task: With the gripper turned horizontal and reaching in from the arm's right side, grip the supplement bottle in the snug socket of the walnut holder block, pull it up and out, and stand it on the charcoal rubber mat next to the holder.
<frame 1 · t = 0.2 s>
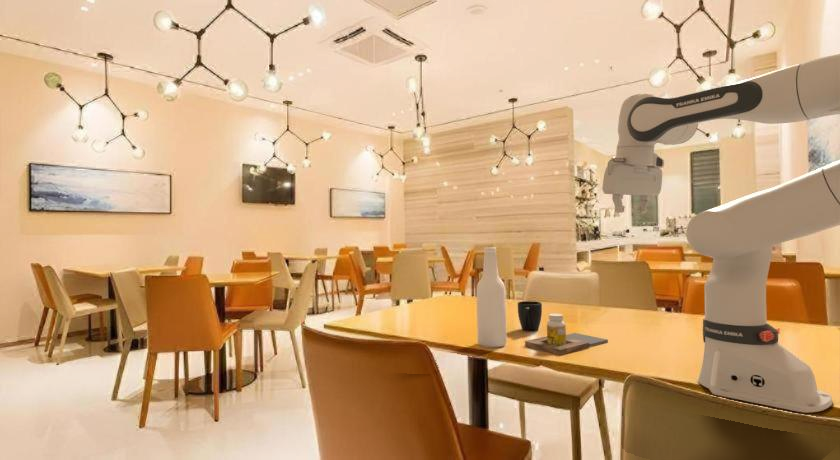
hand: (630, 212, 119), 39 cm above the table, tool pointing down, fingers open, 8 cm apart
mug: (529, 331, 157), on the table
supplement bottle: (556, 347, 135), resting in holder
holder: (556, 346, 135), on the table
mat: (582, 340, 142), on the table
alcohol: (492, 345, 140), on the table
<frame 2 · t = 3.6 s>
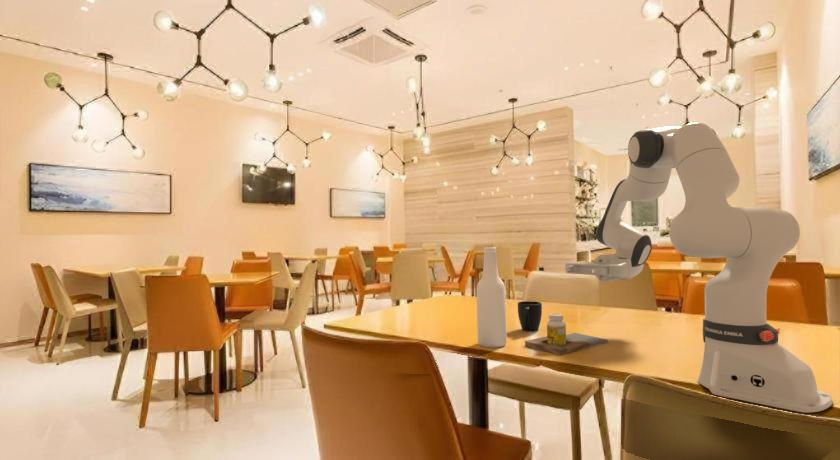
hand: (580, 270, 142), 22 cm above the table, tool horizontal, fingers open, 8 cm apart
nothing on the table moved.
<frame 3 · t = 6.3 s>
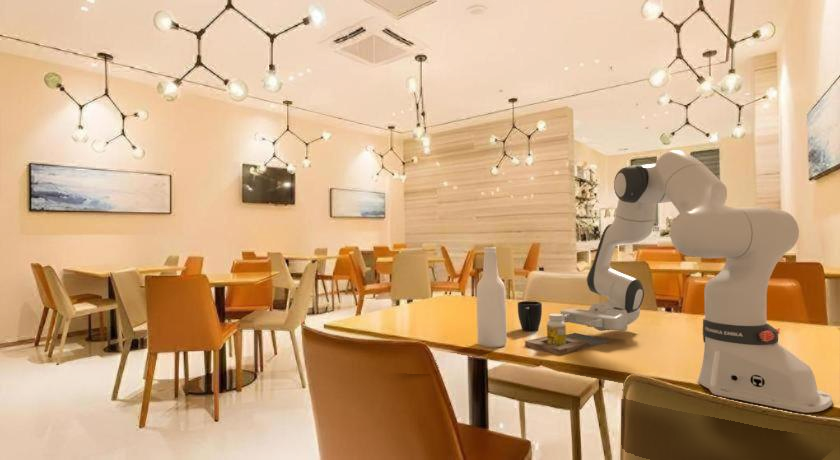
hand: (575, 321, 140), 6 cm above the table, tool horizontal, fingers open, 8 cm apart
nothing on the table moved.
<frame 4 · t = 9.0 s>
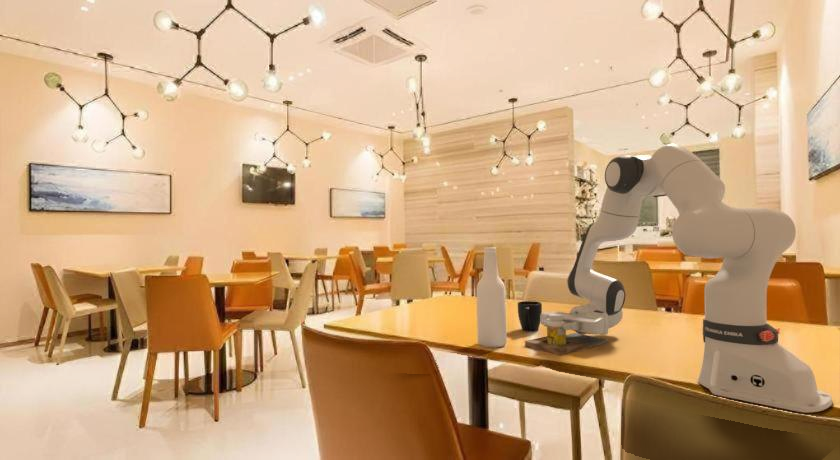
hand: (554, 325, 135), 7 cm above the table, tool horizontal, fingers closed on supplement bottle, 5 cm apart
supplement bottle: (556, 347, 135), resting in holder, touching gripper
everything else where it was.
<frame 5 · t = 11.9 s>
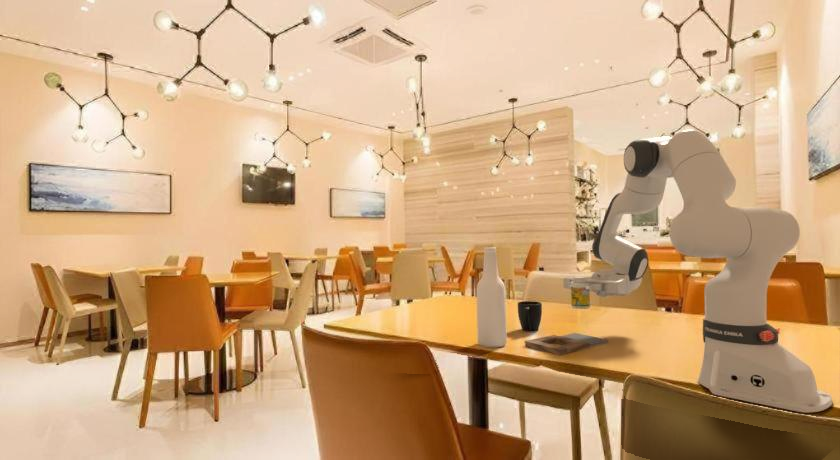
hand: (578, 286, 142), 17 cm above the table, tool horizontal, fingers closed on supplement bottle, 5 cm apart
supplement bottle: (580, 308, 142), point 10 cm above the table, touching gripper
everything else where it was.
when the fingers open (9 cm above the table, at t = 14.7 s): supplement bottle drops 1 cm, resting on mat.
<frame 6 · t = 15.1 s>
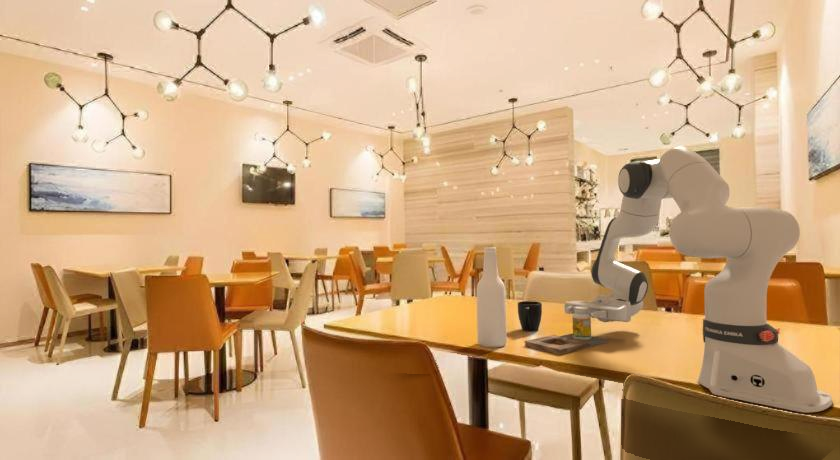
hand: (579, 313, 142), 9 cm above the table, tool horizontal, fingers open, 8 cm apart
supplement bottle: (582, 338, 142), point 1 cm above the table, touching mat
everything else where it was.
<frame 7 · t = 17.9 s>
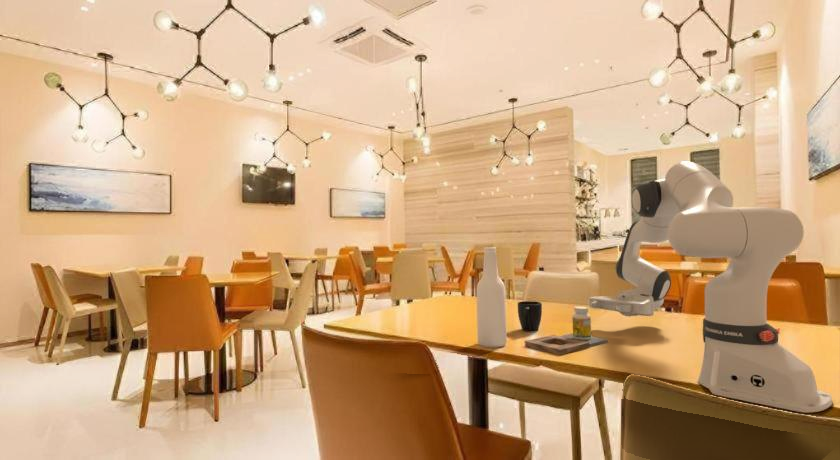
hand: (605, 307, 148), 9 cm above the table, tool horizontal, fingers open, 8 cm apart
nothing on the table moved.
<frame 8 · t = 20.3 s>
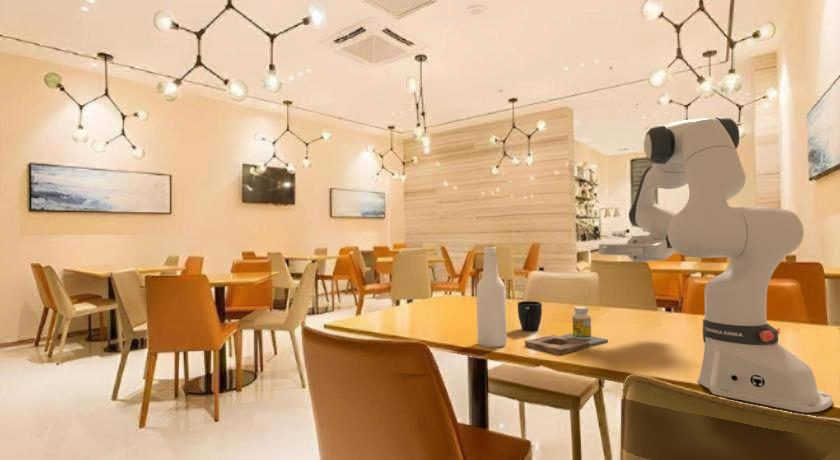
hand: (616, 250, 143), 28 cm above the table, tool horizontal, fingers open, 8 cm apart
nothing on the table moved.
at the end: supplement bottle inside the target area on the mat (0.0 cm from its centre), point 0.6 cm above the mat's base; supplement bottle tilted 0°; the gripper is holding nothing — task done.
